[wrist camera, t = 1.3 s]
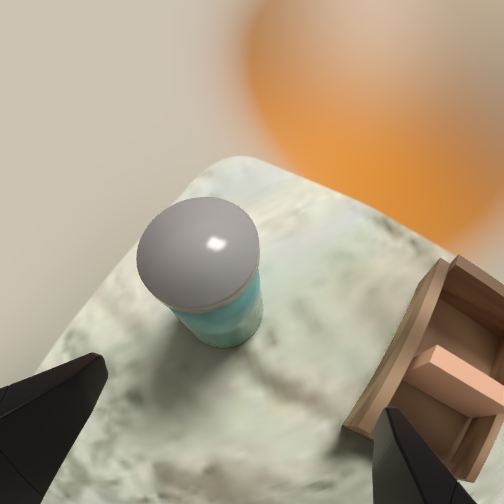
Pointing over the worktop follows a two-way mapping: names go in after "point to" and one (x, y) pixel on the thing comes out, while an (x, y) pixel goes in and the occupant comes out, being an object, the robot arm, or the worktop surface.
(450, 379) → the bar
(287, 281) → the worktop surface
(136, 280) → the worktop surface
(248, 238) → the teal lidded canister
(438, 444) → the small wooden crate
